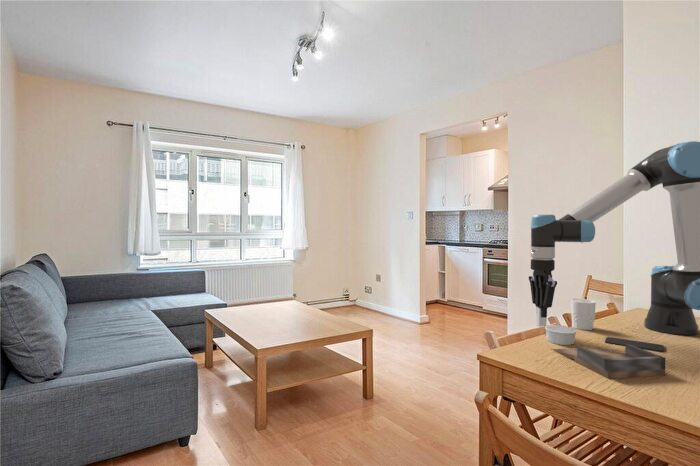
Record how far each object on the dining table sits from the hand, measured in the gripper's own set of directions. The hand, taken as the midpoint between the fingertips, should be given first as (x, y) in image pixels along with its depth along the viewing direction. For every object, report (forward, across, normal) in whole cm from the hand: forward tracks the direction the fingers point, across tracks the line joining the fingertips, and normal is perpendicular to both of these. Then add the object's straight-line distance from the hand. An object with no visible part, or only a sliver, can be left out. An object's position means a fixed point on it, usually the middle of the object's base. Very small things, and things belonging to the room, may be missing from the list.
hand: (541, 325), depth 136 cm
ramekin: (+3, +10, 0) cm, 10 cm away
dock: (+3, +28, 0) cm, 28 cm away
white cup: (+3, -4, +19) cm, 20 cm away
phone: (+3, +16, +21) cm, 27 cm away
